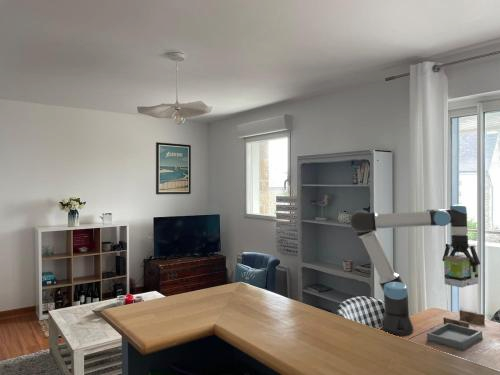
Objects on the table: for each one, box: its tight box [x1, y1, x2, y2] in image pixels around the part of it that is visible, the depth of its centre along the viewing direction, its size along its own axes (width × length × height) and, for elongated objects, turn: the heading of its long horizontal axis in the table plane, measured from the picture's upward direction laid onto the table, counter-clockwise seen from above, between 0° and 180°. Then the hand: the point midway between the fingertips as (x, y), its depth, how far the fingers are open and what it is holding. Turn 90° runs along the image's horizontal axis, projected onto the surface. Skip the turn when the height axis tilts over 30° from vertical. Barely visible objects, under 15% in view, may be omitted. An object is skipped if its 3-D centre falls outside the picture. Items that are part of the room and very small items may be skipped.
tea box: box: [443, 253, 479, 289], centre depth 197 cm, size 15×10×15 cm
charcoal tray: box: [426, 323, 483, 352], centre depth 179 cm, size 16×21×4 cm
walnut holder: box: [442, 309, 486, 328], centre depth 197 cm, size 12×19×5 cm, turn 127°
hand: (461, 276), depth 197 cm, fingers closed on tea box, 10 cm apart
